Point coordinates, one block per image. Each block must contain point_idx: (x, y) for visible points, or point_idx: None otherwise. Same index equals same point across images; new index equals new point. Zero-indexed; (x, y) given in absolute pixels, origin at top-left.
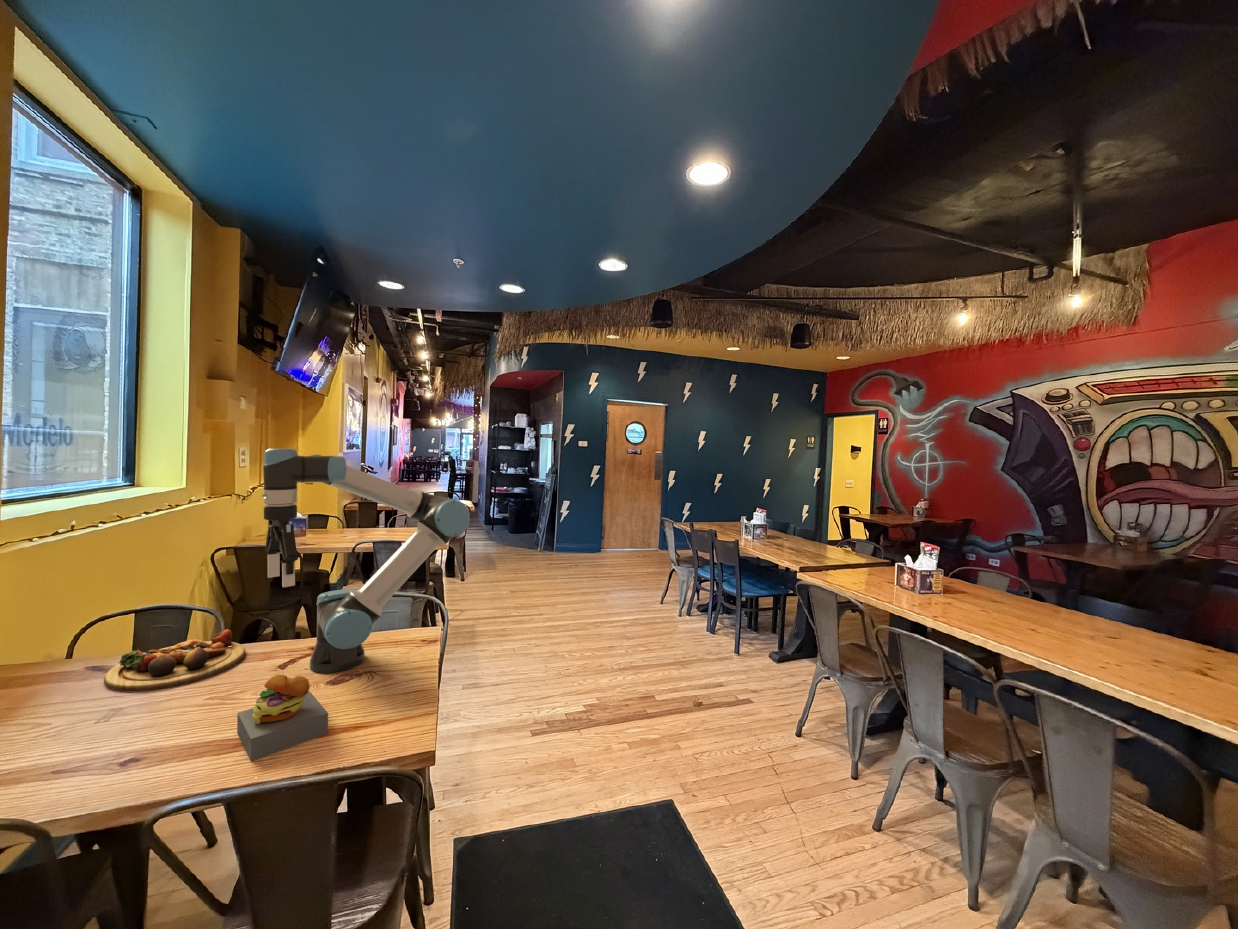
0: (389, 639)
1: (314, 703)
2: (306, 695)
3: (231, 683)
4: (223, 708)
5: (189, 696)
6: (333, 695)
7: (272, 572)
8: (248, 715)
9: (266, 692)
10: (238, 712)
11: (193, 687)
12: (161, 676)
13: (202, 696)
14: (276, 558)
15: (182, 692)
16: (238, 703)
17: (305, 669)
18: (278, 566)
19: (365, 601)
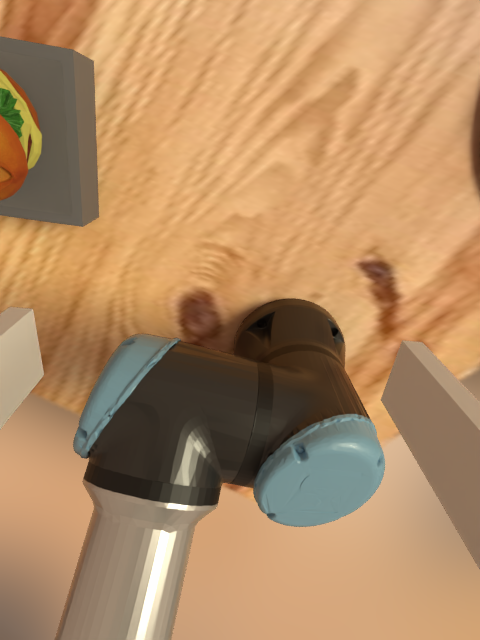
0: None
1: (1, 205)
2: (61, 212)
3: (390, 153)
4: (258, 86)
5: (408, 47)
6: (133, 276)
7: (409, 385)
8: (35, 65)
9: (4, 105)
10: (71, 51)
11: (457, 74)
12: None
13: (377, 72)
14: (469, 510)
15: (452, 41)
16: (257, 122)
17: (314, 293)
18: (417, 450)
19: (89, 494)
